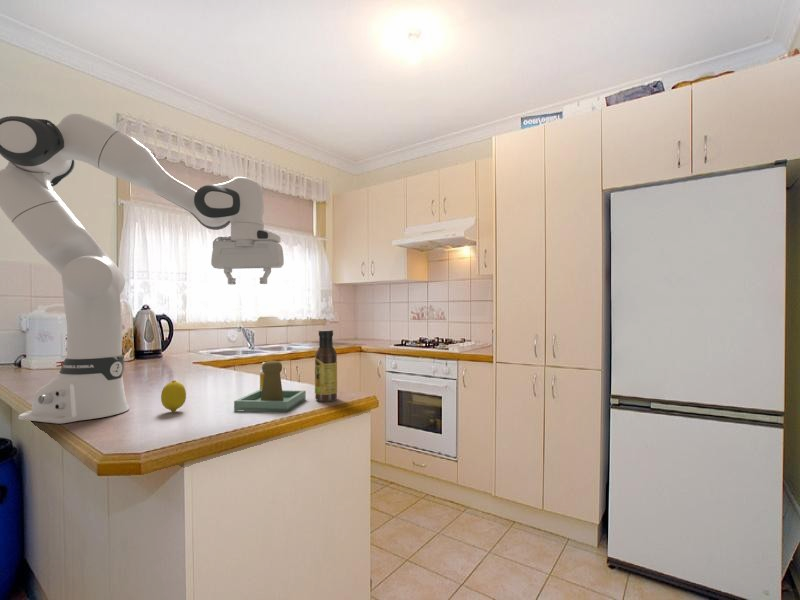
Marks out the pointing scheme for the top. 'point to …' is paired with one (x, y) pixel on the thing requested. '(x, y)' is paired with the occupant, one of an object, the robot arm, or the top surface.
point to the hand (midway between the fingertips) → (247, 284)
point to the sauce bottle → (325, 368)
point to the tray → (270, 402)
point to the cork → (272, 381)
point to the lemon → (173, 396)
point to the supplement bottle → (261, 378)
